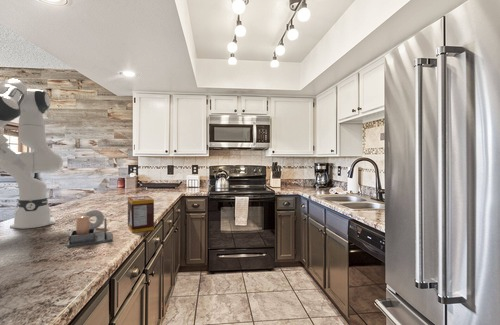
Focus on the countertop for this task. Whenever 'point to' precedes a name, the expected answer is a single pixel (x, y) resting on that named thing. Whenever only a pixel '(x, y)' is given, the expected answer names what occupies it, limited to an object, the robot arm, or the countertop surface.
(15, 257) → the countertop surface
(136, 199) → the supplement box
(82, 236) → the grey tape dispenser
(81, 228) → the wooden block
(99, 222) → the grey ring
